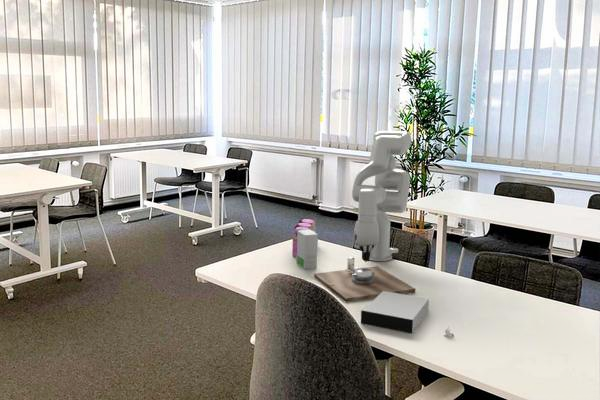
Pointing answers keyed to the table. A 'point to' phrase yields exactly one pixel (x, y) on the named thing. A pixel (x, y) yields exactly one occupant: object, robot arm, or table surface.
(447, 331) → the adhesive hook
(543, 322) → the table surface
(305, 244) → the skincare box
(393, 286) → the mounting board
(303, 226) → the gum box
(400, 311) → the disc drive
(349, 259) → the lock lever
